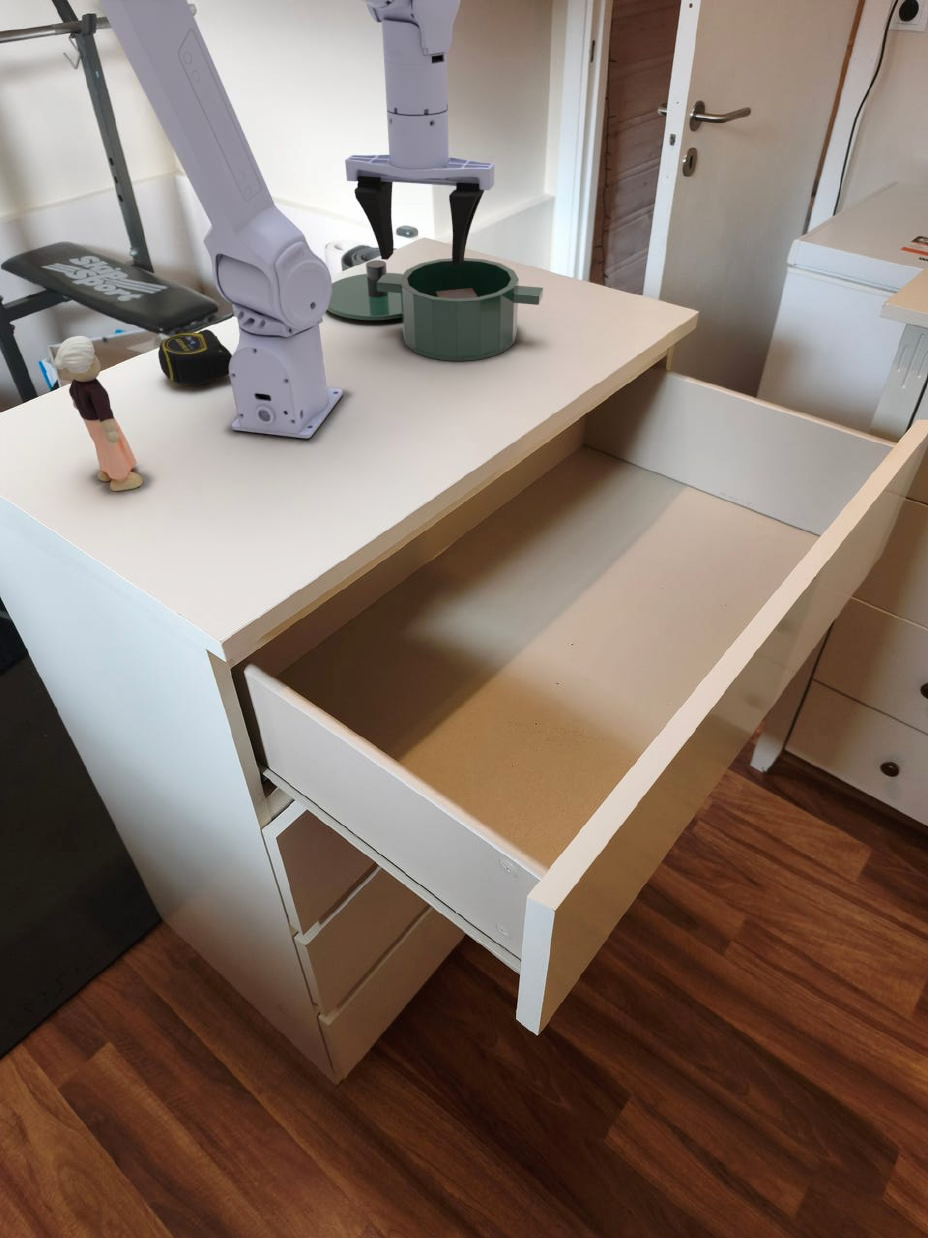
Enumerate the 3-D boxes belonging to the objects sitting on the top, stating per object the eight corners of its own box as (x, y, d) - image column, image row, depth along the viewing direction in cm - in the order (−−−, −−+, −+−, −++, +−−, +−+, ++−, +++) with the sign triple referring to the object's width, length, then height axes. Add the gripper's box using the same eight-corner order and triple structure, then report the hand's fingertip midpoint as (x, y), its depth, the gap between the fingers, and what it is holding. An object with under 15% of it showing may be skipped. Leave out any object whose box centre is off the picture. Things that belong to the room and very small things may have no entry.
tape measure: (240, 382, 88) (233, 347, 85) (173, 397, 85) (164, 362, 83) (221, 357, 92) (214, 323, 90) (157, 370, 90) (148, 336, 87)
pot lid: (419, 329, 97) (417, 289, 94) (305, 320, 100) (299, 280, 97) (447, 285, 107) (446, 247, 104) (343, 277, 110) (339, 240, 107)
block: (481, 339, 94) (481, 301, 91) (444, 343, 93) (443, 305, 90) (472, 324, 97) (472, 287, 94) (436, 328, 96) (435, 291, 93)
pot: (528, 368, 90) (530, 307, 85) (366, 352, 93) (360, 293, 89) (547, 321, 99) (551, 264, 94) (399, 308, 102) (396, 252, 98)
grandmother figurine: (163, 481, 74) (123, 341, 65) (126, 501, 72) (79, 358, 63) (110, 453, 77) (66, 317, 69) (73, 471, 75) (22, 333, 67)
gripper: (502, 103, 81) (499, 251, 90) (357, 97, 83) (368, 241, 92) (485, 120, 76) (484, 275, 85) (332, 112, 78) (346, 263, 87)
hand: (422, 259), depth 88 cm, fingers open, 7 cm apart
